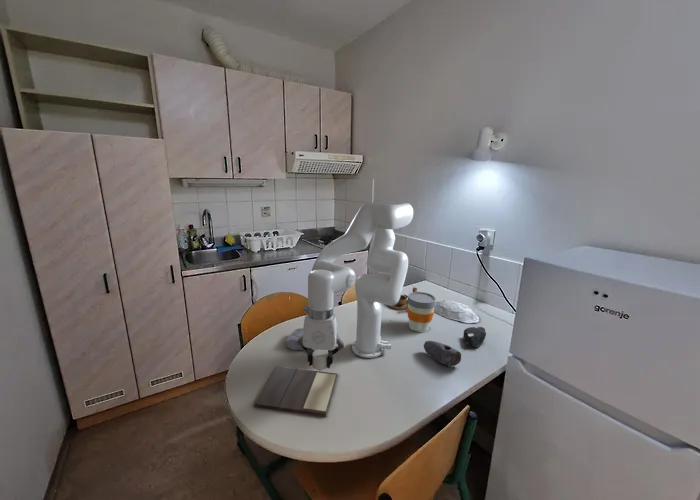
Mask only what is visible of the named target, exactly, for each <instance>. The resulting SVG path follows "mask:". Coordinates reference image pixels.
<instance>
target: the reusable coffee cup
mask: <svg viewBox="0 0 700 500" xmlns="http://www.w3.org/2000/svg"><path fill="white" fill-rule="evenodd" d="M407 302H408V306H407V309H406V310H408V311H407V319H408V327H409V329H410V330H412V331H414V332H417V333H426V332H428V331H429V330H430V325H431V322H432V321H433V318H434V313H435V312H434V307H435V305H436V297H435V296H434V295H433V294H431V293H428V292H423V291H417V292H413V291H412V292H409V294H408V296H407Z"/></svg>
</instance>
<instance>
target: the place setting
mask: <svg viewBox="0 0 700 500" xmlns="http://www.w3.org/2000/svg"><path fill="white" fill-rule="evenodd" d="M413 292H418V288H417V287H412V293H413ZM407 300H408V296H405V295H403V294H401V296H400V299H399V301H398V303H397V304H396V305H394V306H390V307H391V308H392V309H395V310H399V311H398V312H397V314H399V313H404V312H408V310H407V306H408V302H407Z"/></svg>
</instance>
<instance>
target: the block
mask: <svg viewBox="0 0 700 500" xmlns="http://www.w3.org/2000/svg"><path fill="white" fill-rule="evenodd" d="M302 335H303V327H300V328H299V327H298V328H296V329H294V330H293V331H292V332H291V333H290V334H289V336H288V337H287V339H286V341H285V345H286V347H287V349H291V350H293V351H294V350H295V351H305V350H304V349H303V348H302V346H300V345H299V344H298V343H297V341H298V339H299V338H300V337H301V336H302Z"/></svg>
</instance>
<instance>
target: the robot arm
mask: <svg viewBox="0 0 700 500" xmlns="http://www.w3.org/2000/svg"><path fill="white" fill-rule="evenodd" d="M413 218H414V208H413V205H411V204H410V203H408V202H405V201H404V202H402V201H392V200H374V201H371V202H370V201H369V202H365V203H363V204H362V205H361V206H360V207H359V209H358V211H357V212H356V214H355V215H354V217H353V219H352V221H351V223H350V224H349V226H348V228H347V230H346V232H345V233H344V234H343V235H341V236H339V237H338V238H336V239H334V240H332V241H331V242H330V243H328V244H327V245H325V246H324V248H323V249H322V250H321V251H320V253H319V254H318V256H317V257H316V259H315V261H314V263H313V265H312V267H311V271H310V272H309V273H308V276H307V305H303V308H302V309H303V311H305V312H306V314H305V316H304V320H303V327H302V328H303V335H302V336H301V337H300V338H299V339H298V341H297V343H298V344H299V345H300V346H302V348H303V349H304V350H303V351H305V352H306V353H305V354H306V355H307V362H308V364H309V365H308V366H309V367H311V366H312V354H313V352H314V351H315V350H320V349H321V350H326V351H327V352H328V357H327V368H326V369H330V368H331V366H332V365H333V363H334V355H335V354H337V353H339V351H341V350H343V349H344V348H345V343H344V342H343V340H341V338H340V337H339V336H338V334H339V333H338V332H339V331H338V323H337V316H336V314H335V313H334V307H335V305H334V303H335V299H334V298H335V294H336V293H341V292H345V291H348V290H350V289H351V288H352V287H353V286H355V287H354V288H355V289H354V291H355V296H356V307H357V308H356V330H355V331H356V335H355V340H354V341H353V342H352V344H351V351H352V352H353V353H354V355H356V356H358V357H360V358H365V359H373V358H377V357H379V356H381V355H382V354H383V352H384V349H385V350H391V349H392V344H391V343H389V341H388V340H383V339H382V336H381V327H382V315H383V314H382V312H383V311H382V306H381V304H382V305H385V306H390V307H391V306H394V305H396V304H397V303H398V301H399V299H400V296H401V295H402V292H403V289H404V285H405V281H406V277H407V273H408V269H409V256H408V255H407V253H405V252H404V251H400V250H396V249H394V246H395V242H396V235H395V232H394V230H399V229H402V228H404V227H407V226H409V225H410V223H411V222H412V221H413ZM371 240H372V241H371ZM369 245H370V247H369V251H368V255H367V257H366V267H367V269H368V270H370V271H373V272H375V273H380V274H383V275H388V276H389V278H388V277H385V276H380V275H378V274H377V275H376V274H371V273H363V274H361V275H359V276H358V277H357V275H356V272H355V271H354V270H353V268H351V267H349V266H345V265H342V264H338V263H334V262H335V261H336V260H337V259H338V258H340V257H342V256H344V255H347V254H351V253H355V252H359V251H363V250H365V249H367V247H368V246H369ZM312 367H313V366H312Z"/></svg>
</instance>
